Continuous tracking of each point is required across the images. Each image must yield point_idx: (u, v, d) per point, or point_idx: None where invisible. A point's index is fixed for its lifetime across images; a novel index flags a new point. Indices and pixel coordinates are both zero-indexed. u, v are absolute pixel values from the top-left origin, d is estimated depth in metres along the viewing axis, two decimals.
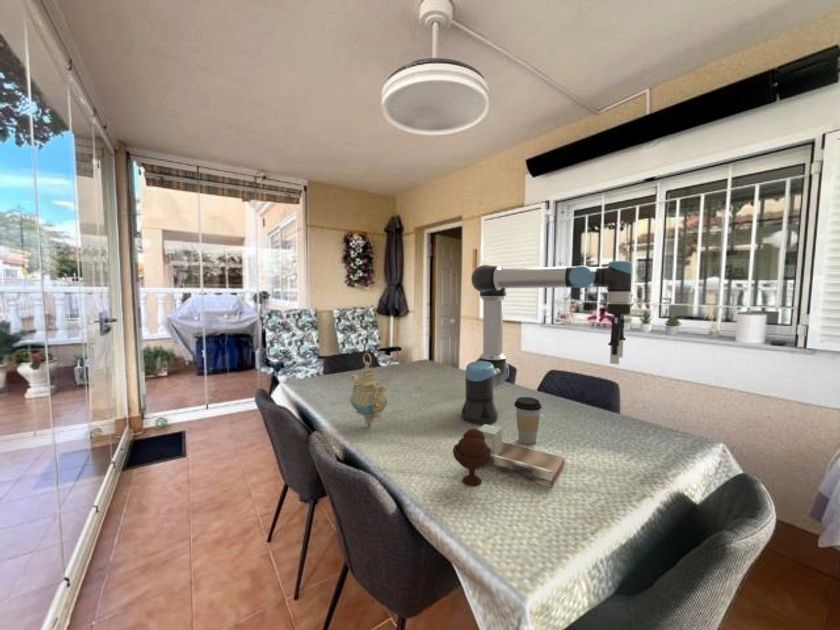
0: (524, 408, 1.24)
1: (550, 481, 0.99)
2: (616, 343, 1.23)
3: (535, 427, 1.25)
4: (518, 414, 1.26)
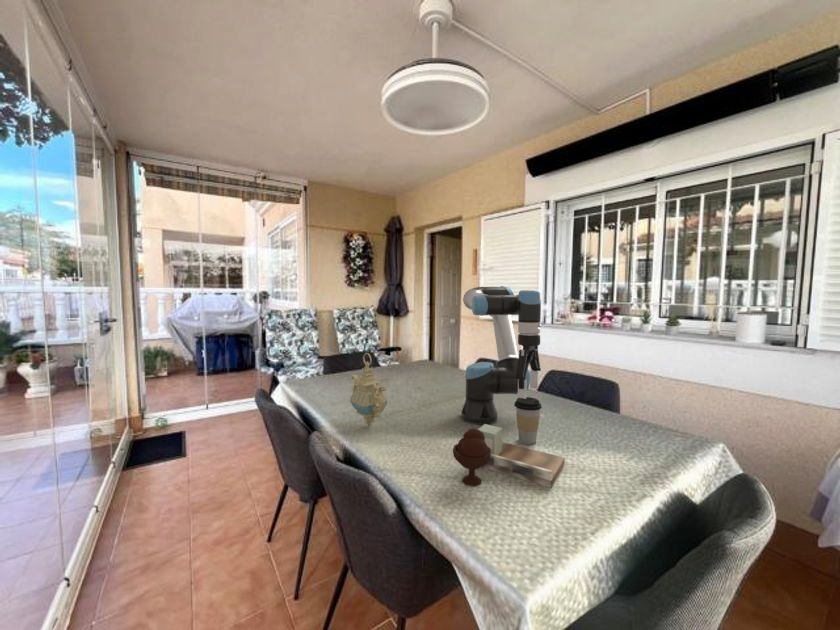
0: (524, 408, 1.24)
1: (550, 481, 0.99)
2: (521, 377, 1.18)
3: (535, 427, 1.25)
4: (518, 414, 1.26)
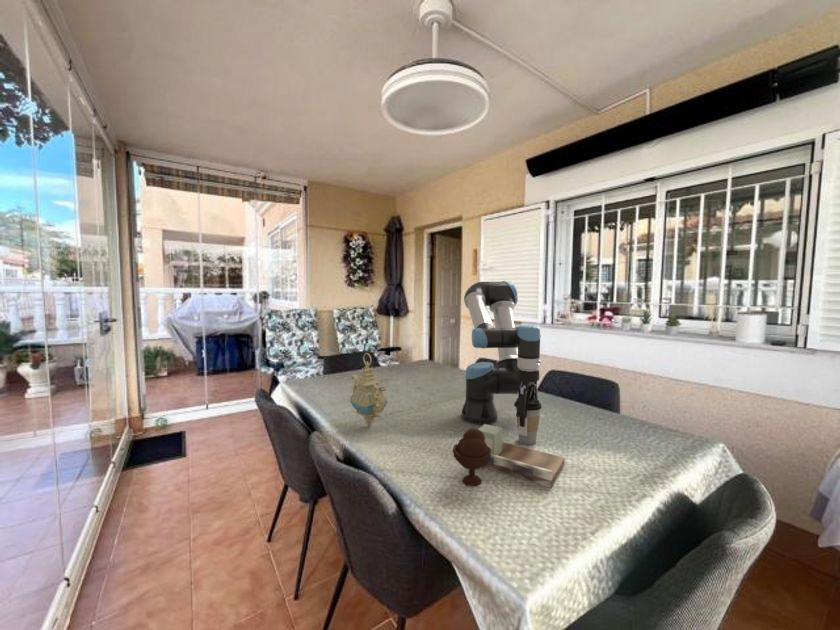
0: None
1: (550, 481, 0.99)
2: (522, 416, 1.20)
3: (535, 427, 1.25)
4: None
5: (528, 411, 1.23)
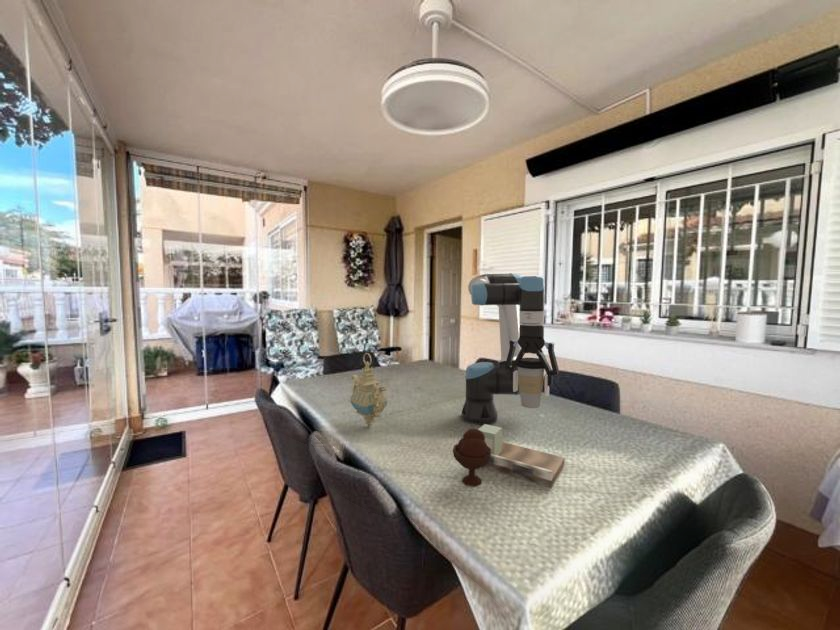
0: None
1: (550, 481, 0.99)
2: None
3: (522, 387, 1.13)
4: None
5: None
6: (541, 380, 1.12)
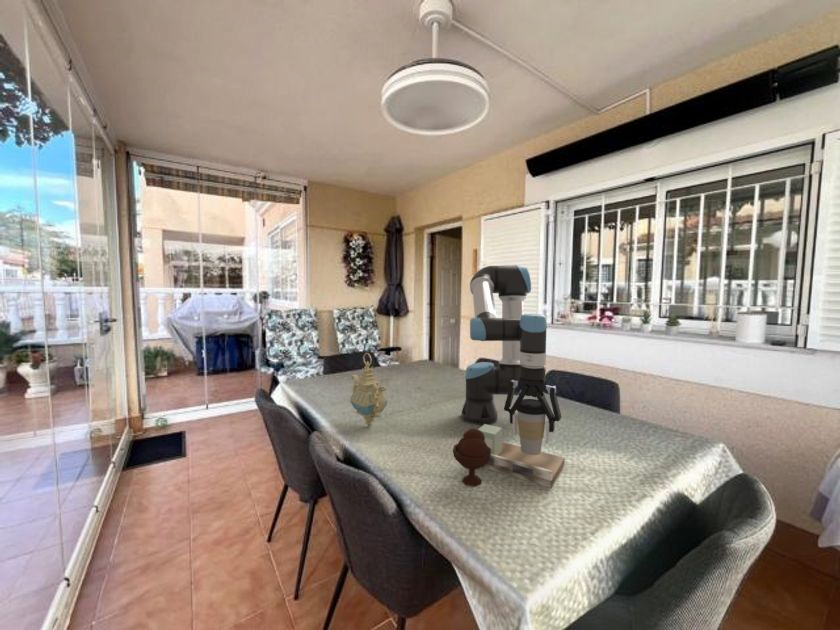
0: None
1: (550, 481, 0.99)
2: None
3: (522, 433, 1.07)
4: None
5: (517, 410, 1.09)
6: (542, 426, 1.05)
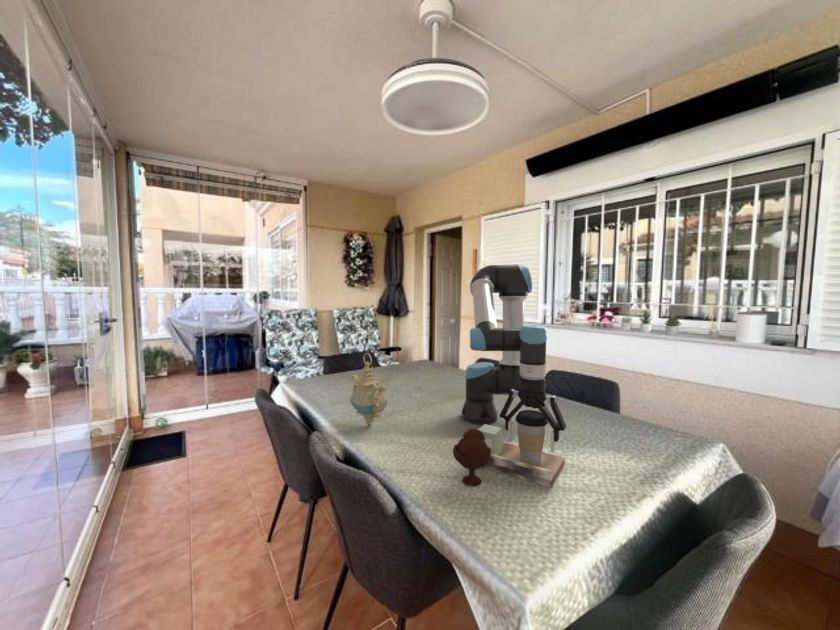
0: None
1: (550, 481, 0.99)
2: None
3: (521, 444, 1.07)
4: None
5: (517, 421, 1.09)
6: (542, 437, 1.05)
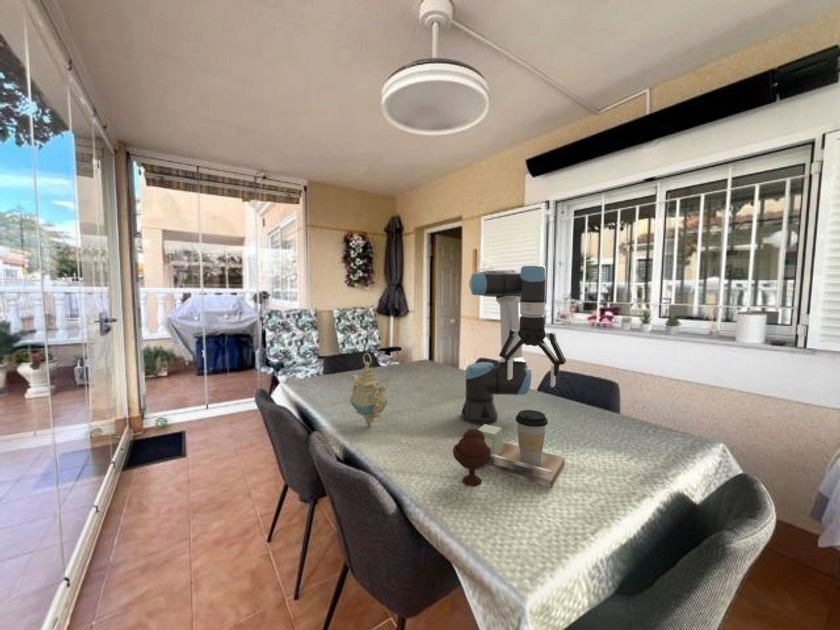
0: None
1: (550, 481, 0.99)
2: None
3: (522, 444, 1.07)
4: None
5: (517, 421, 1.09)
6: (542, 437, 1.05)
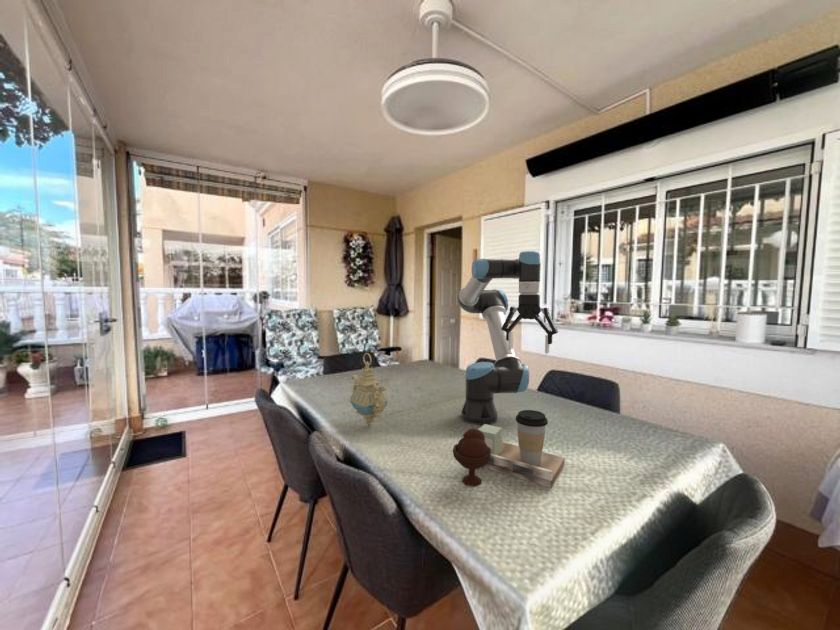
0: None
1: (550, 481, 0.99)
2: None
3: (522, 444, 1.07)
4: None
5: (517, 421, 1.09)
6: (542, 437, 1.05)
